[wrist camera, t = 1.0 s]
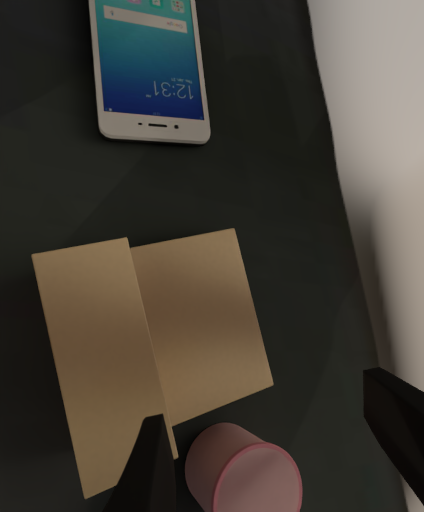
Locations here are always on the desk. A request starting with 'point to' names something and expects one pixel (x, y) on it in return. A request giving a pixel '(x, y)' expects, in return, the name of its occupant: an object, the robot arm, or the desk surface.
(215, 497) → the pink cylinder
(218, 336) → the step shelf
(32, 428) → the desk surface
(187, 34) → the smartphone
